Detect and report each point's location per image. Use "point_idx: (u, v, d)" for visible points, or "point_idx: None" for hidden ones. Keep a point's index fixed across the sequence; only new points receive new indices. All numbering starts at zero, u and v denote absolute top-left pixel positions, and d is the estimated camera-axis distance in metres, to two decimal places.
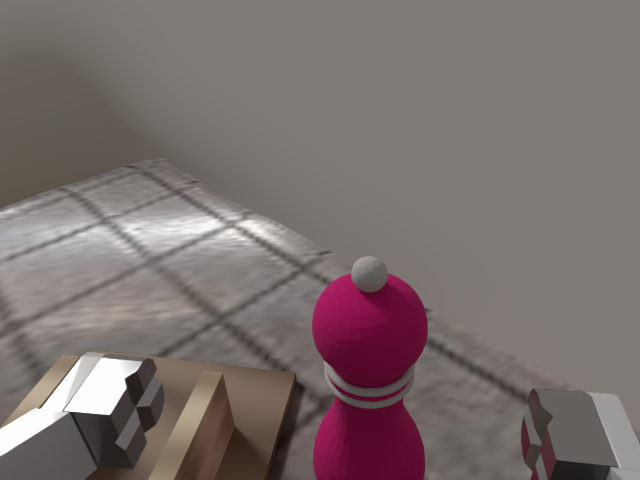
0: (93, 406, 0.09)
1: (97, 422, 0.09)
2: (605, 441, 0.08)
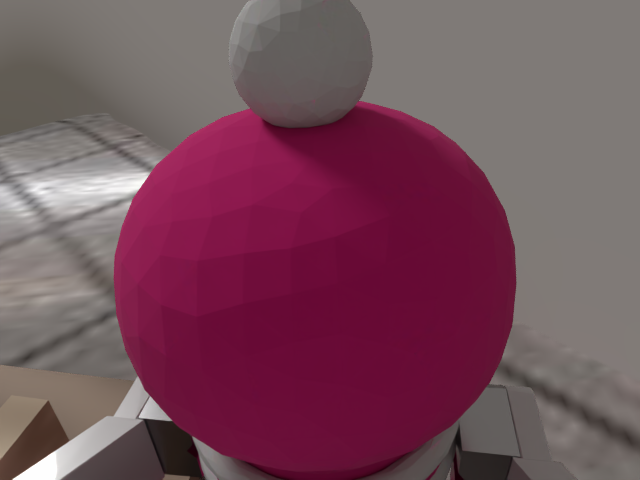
0: None
1: (171, 430, 0.09)
2: (513, 432, 0.09)
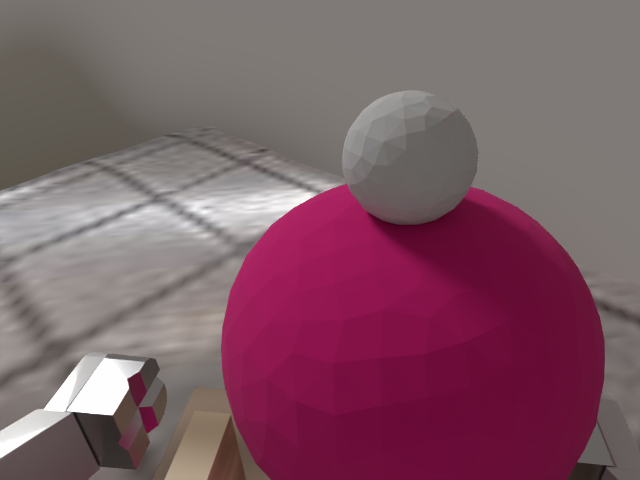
0: (96, 406, 0.09)
1: (100, 422, 0.09)
2: (601, 441, 0.08)
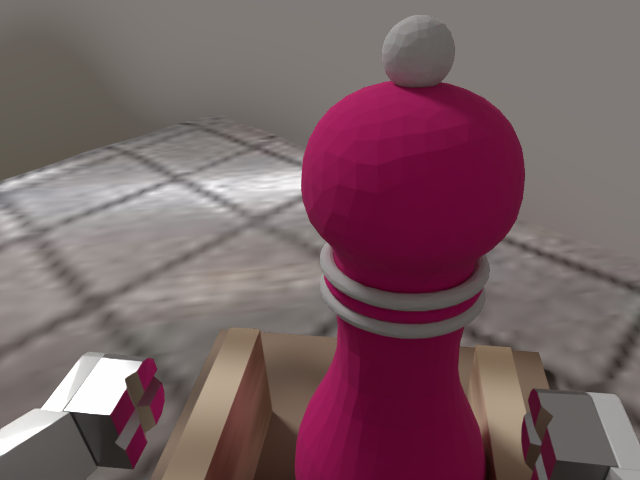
0: (93, 406, 0.09)
1: (97, 422, 0.09)
2: (604, 440, 0.08)
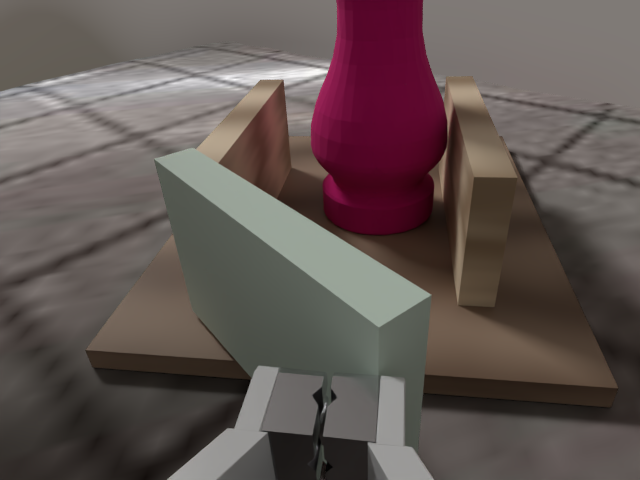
0: (290, 425, 0.09)
1: (294, 443, 0.09)
2: (377, 419, 0.09)
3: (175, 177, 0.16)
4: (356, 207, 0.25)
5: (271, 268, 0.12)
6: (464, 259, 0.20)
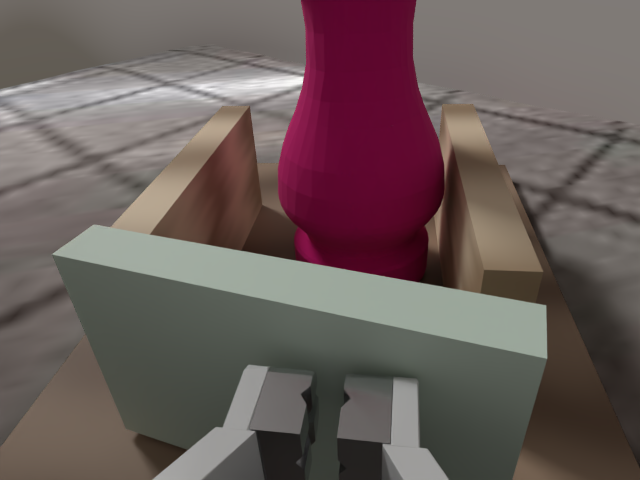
0: (278, 424, 0.09)
1: (282, 441, 0.09)
2: (391, 421, 0.09)
3: (110, 270, 0.12)
4: None
5: (337, 339, 0.10)
6: None
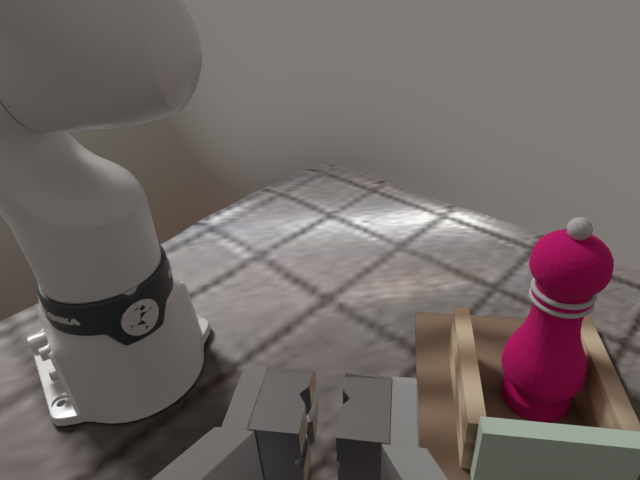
0: (277, 424, 0.09)
1: (281, 441, 0.09)
2: (390, 420, 0.09)
3: (507, 436, 0.36)
4: (533, 409, 0.44)
5: (589, 450, 0.35)
6: None
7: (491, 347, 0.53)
